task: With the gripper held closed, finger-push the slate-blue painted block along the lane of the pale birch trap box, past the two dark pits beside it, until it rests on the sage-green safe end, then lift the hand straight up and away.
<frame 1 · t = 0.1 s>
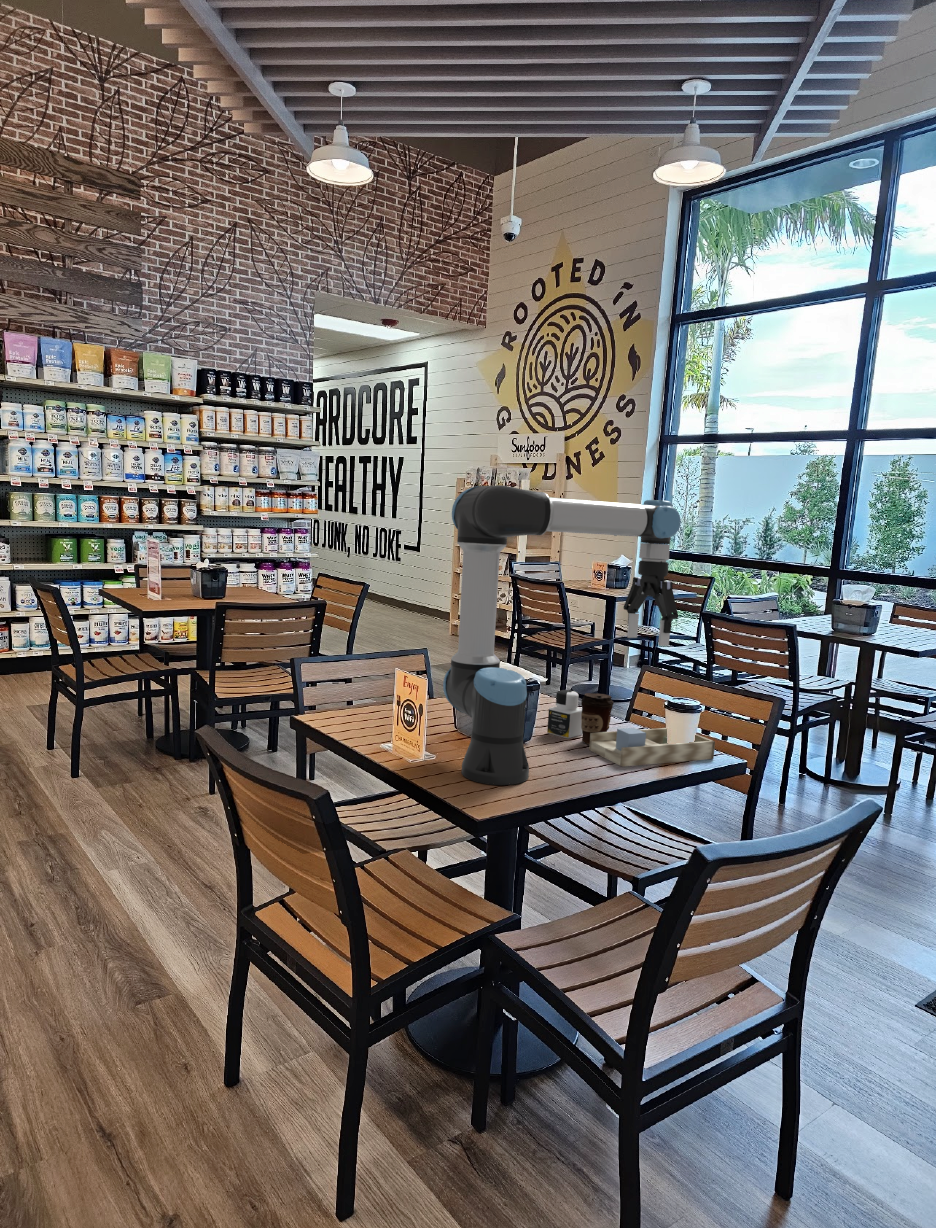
hand: (647, 641, 208), 28 cm above the table, fingers open, 13 cm apart
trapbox: (651, 754, 203), on the table
coffee cup: (593, 743, 211), on the table
medicine bottle: (564, 734, 218), on the table
slate block: (629, 750, 196), point 2 cm above the table, touching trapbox
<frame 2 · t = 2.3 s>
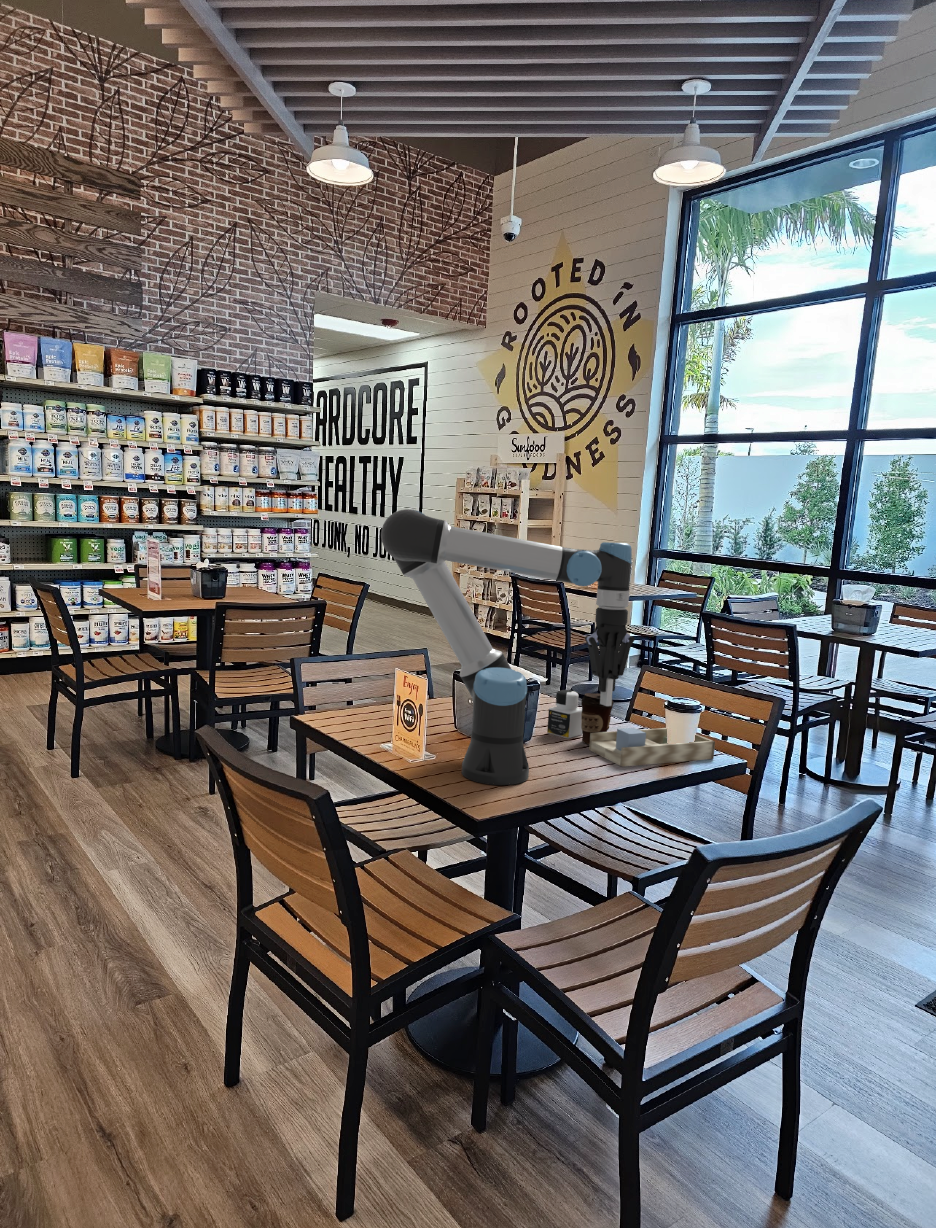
hand: (605, 704, 191), 14 cm above the table, fingers closed
nothing on the table moved.
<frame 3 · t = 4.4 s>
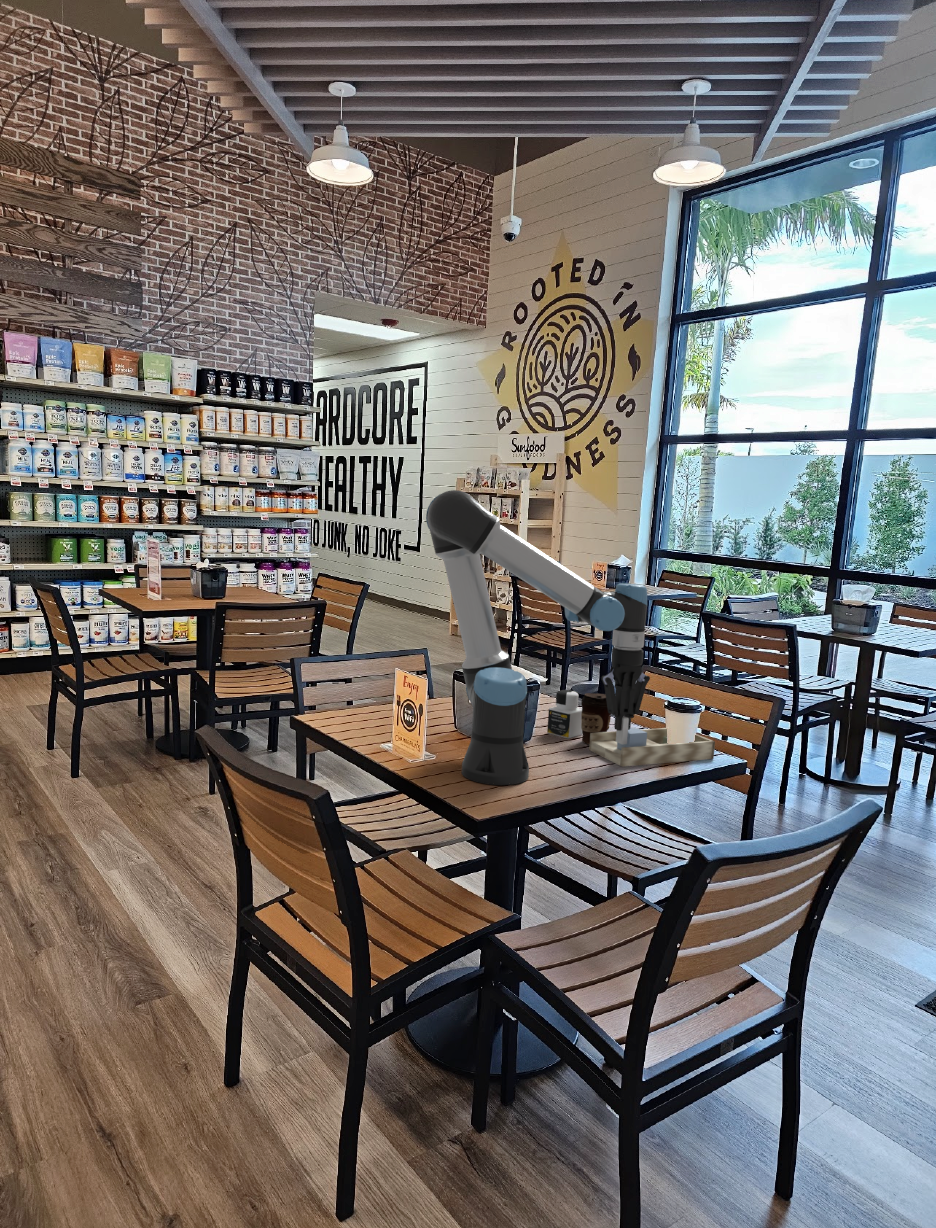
hand: (621, 742, 194), 5 cm above the table, fingers closed
slate block: (631, 750, 196), point 3 cm above the table, touching gripper
everything else where it was.
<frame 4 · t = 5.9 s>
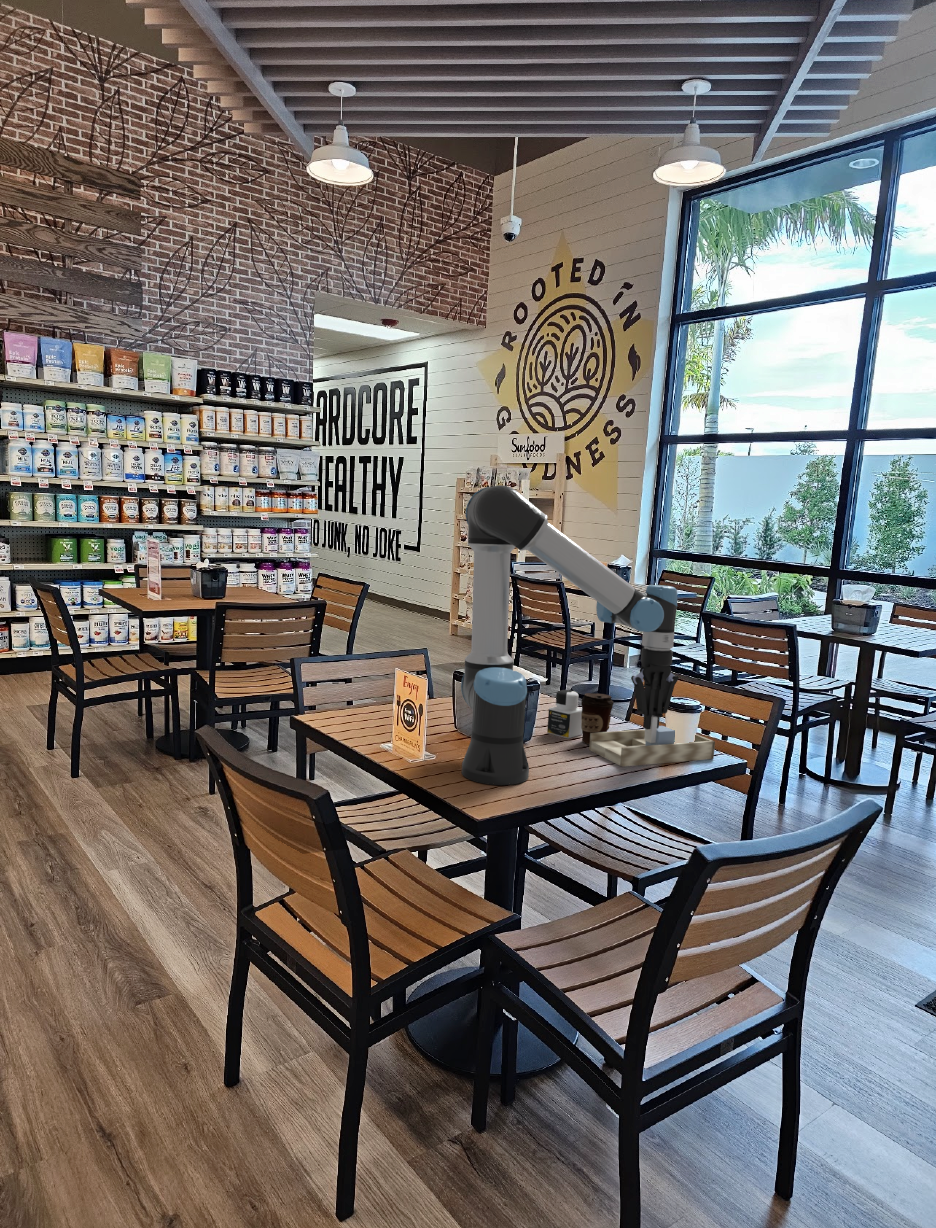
hand: (649, 741, 198), 4 cm above the table, fingers closed
slate block: (659, 748, 200), point 3 cm above the table, touching gripper
everything else where it was.
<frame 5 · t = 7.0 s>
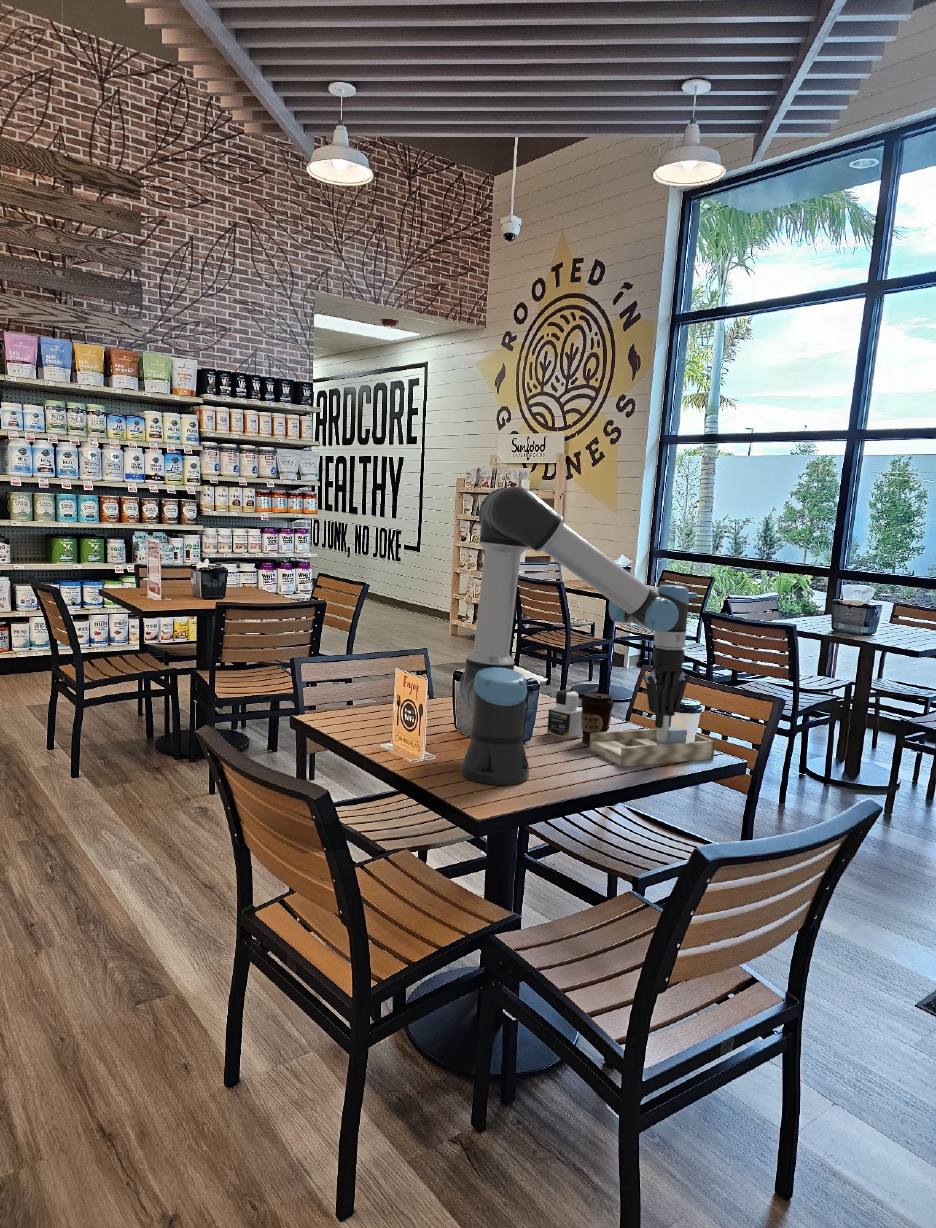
hand: (661, 740, 199), 5 cm above the table, fingers closed
slate block: (670, 747, 201), point 2 cm above the table, touching gripper, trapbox
everything else where it was.
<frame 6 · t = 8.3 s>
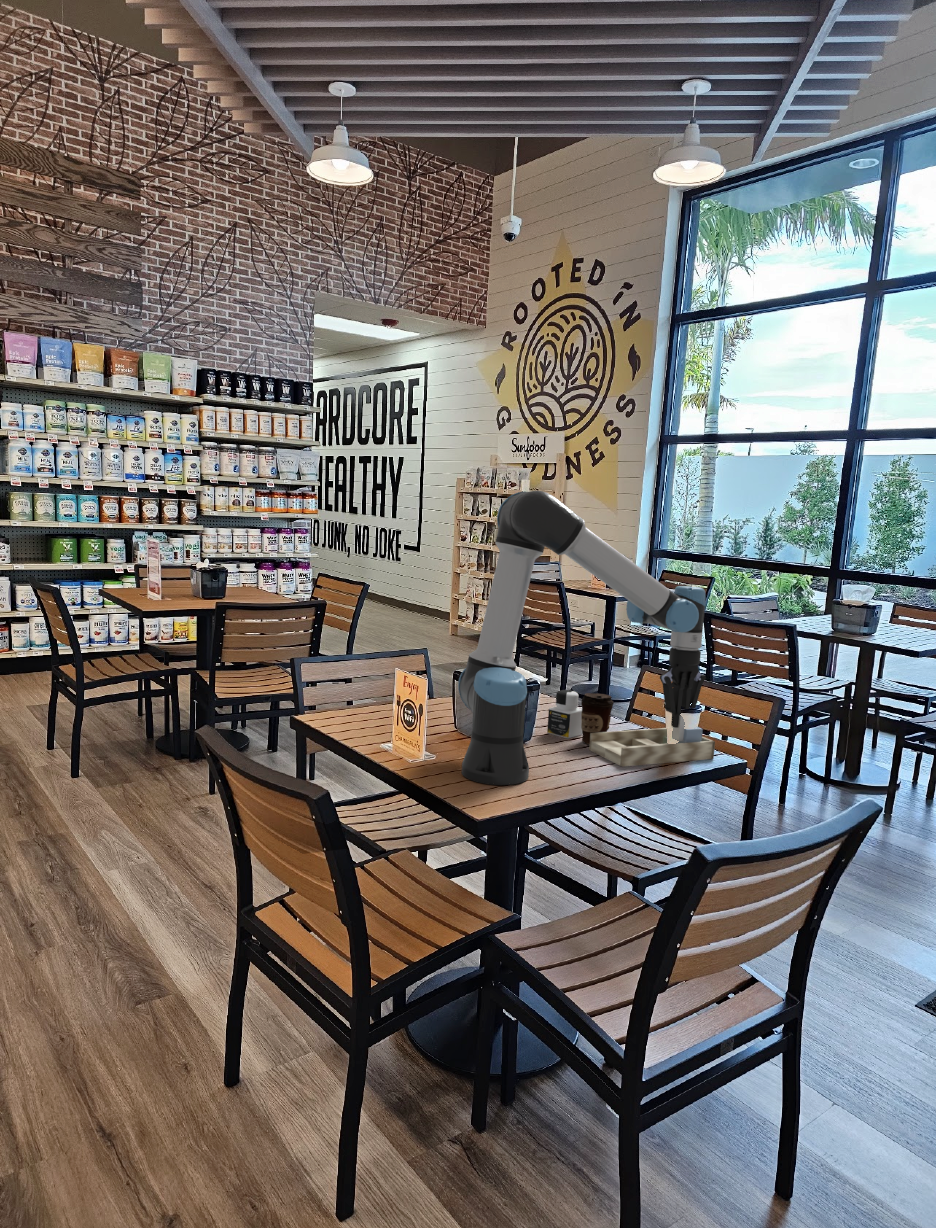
hand: (677, 739, 202), 4 cm above the table, fingers closed
slate block: (686, 746, 203), point 2 cm above the table, touching gripper, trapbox
everything else where it was.
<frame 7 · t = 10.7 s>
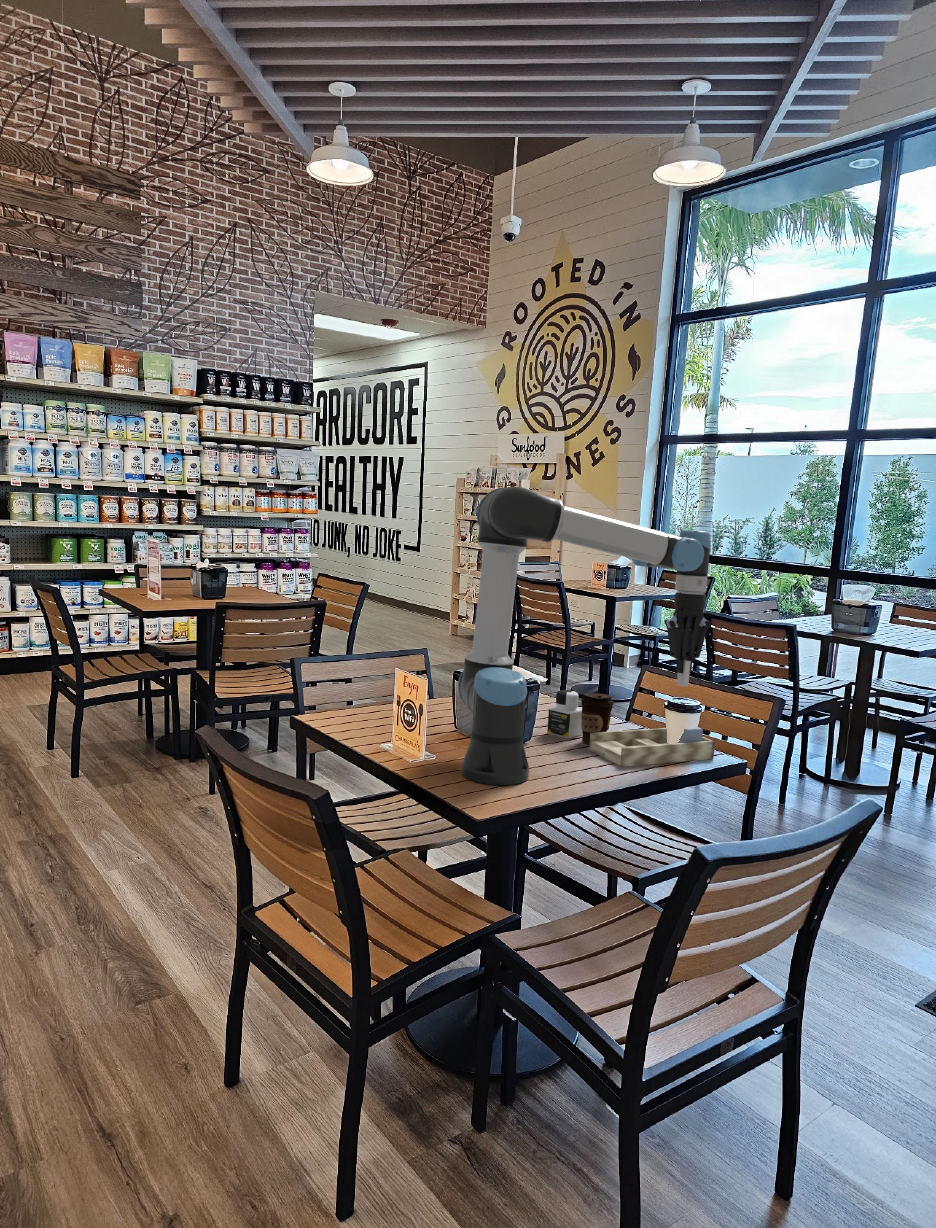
hand: (682, 685, 200), 18 cm above the table, fingers closed
slate block: (686, 746, 203), point 3 cm above the table, touching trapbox
everything else where it was.
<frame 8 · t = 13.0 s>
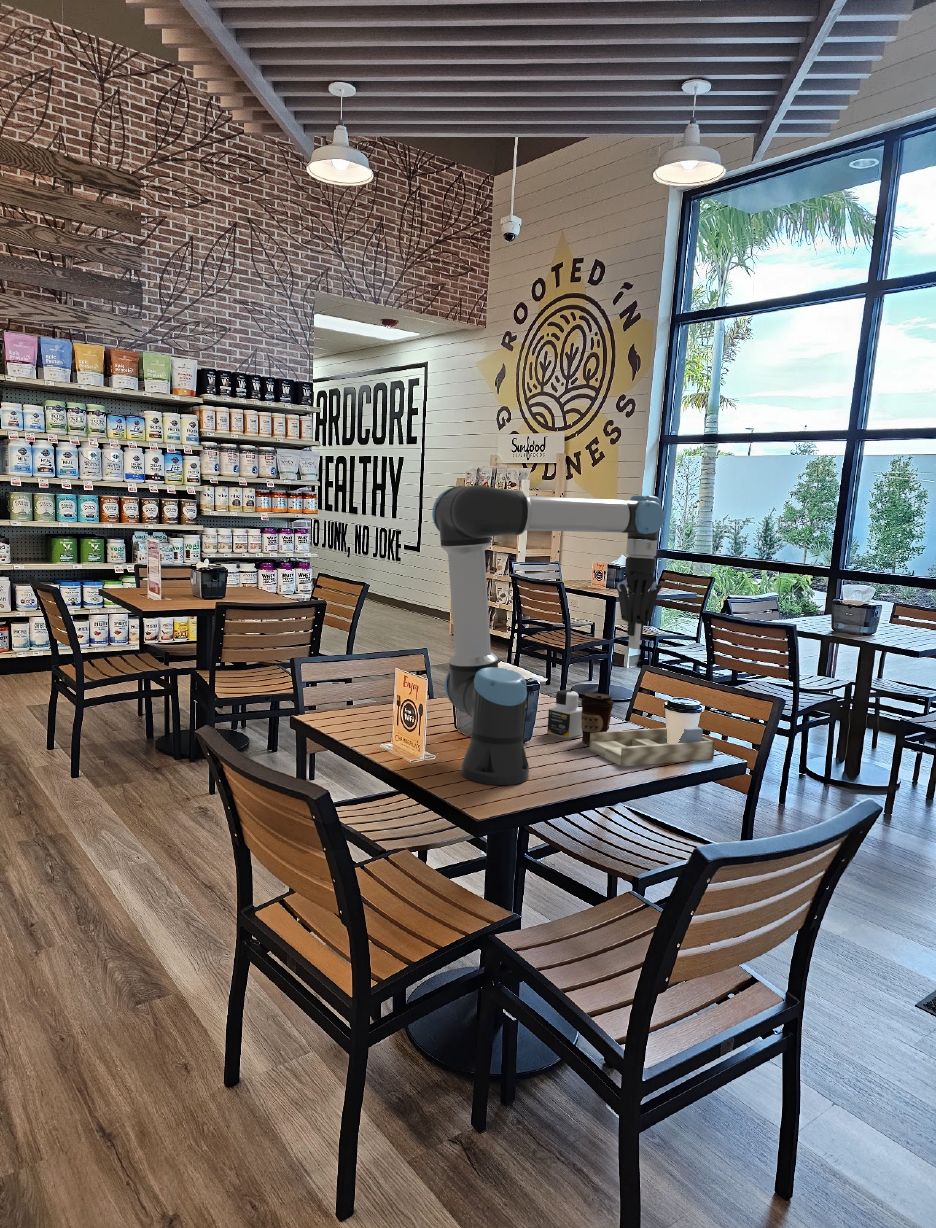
hand: (633, 648, 205), 26 cm above the table, fingers closed
nothing on the table moved.
at the end: slate block 1.4 cm from the target spot on the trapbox, point 2.5 cm above the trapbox's base; slate block tilted 1° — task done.
